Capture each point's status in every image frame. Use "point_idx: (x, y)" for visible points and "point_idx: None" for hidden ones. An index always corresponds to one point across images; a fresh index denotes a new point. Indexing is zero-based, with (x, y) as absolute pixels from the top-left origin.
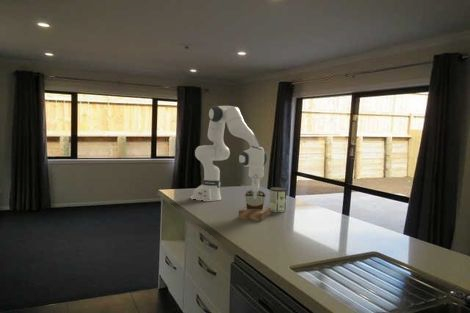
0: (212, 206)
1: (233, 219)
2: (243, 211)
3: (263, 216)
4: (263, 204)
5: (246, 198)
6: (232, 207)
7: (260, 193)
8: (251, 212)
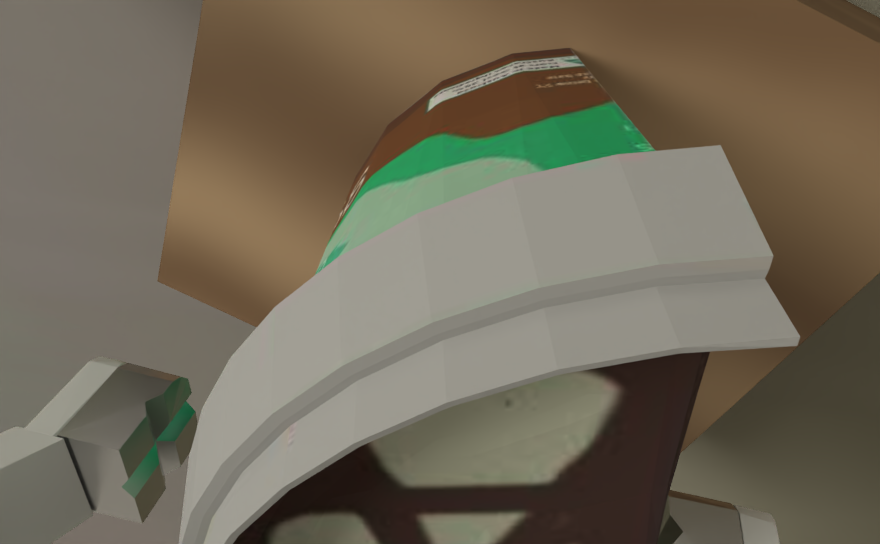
0: (106, 529)
1: (714, 467)
2: (683, 444)
3: (873, 24)
4: (604, 92)
5: None
6: (42, 370)
7: (430, 469)
8: (800, 336)
